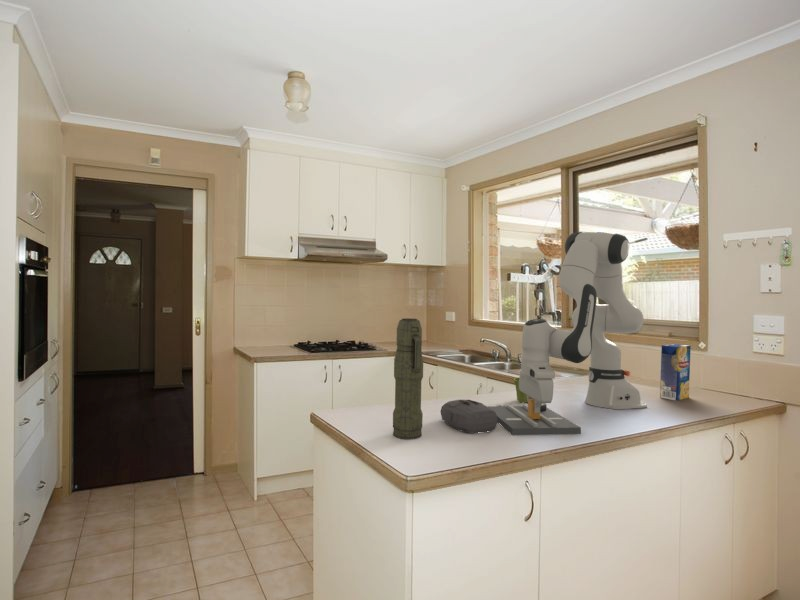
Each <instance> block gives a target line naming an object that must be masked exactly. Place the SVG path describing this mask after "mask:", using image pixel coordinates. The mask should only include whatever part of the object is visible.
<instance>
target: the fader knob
mask: <svg viewBox="0 0 800 600" xmlns="http://www.w3.org/2000/svg"><path fill="white" fill-rule="evenodd" d="M527 405H528V417H529V418H530V419H540V413H535V412H534V411H533V407H534V405H535V402H534V399H528V402H527Z"/></svg>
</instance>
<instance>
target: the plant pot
mask: <svg viewBox="0 0 800 600" xmlns="http://www.w3.org/2000/svg"><path fill="white" fill-rule="evenodd" d="M513 381H514V385H515V390H516V400H517V402H519V401H520V403H522V402H524V403H528V401H527V395H526V394H525V393H523V392H521V391H520V390H519V377H515V378H513Z"/></svg>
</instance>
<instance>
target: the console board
mask: <svg viewBox="0 0 800 600" xmlns="http://www.w3.org/2000/svg"><path fill="white" fill-rule="evenodd" d="M547 405H548V403H542V405H541V407H540V419H530V418H529V417H528V403H522V405H512V404H510V403H507V404H506V405H503V406H501V405H498V406H495V405H494V406H492V405H491V406H489V405H488V406H487V405H486V406H487V407H489V408H490V409H492V410H493V411H494V412H495V413H496V415H497V419H498V422H497V424H499V423H500V424H501V425H502V426H503V427H504V430H506V431H507V432H508V433H509V432H510V433H511V434H510V433H509V434H510V435H512V436H533V435H534V436H535V435H538V436H540V435H542V436H543V435H544V436H546V435H581V433H582V428H581V426H579V425H577V424H576V423H574V422H572V421H571V420H569V419H568V418H565V416H562V415H561V414H559V413H557V412H555V411H554V410H552V409H551V408H549V407H547ZM500 424H499V425H500ZM501 425H500V426H501ZM502 426H501V427H502ZM503 427H502V428H503Z"/></svg>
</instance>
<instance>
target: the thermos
mask: <svg viewBox="0 0 800 600" xmlns="http://www.w3.org/2000/svg"><path fill="white" fill-rule="evenodd" d="M422 330H423V327H422V324H421V322H420V320H419V319H418V318H405V317H404V318H401V319H399V321H398V324H397V327H396V352H395V357H394V359H393V377H394V380H395V382H394V383H395V387H394V388H395V389H394V391H395V392H394V410H393V412H392V429H393V430H392V436H393V437H394V438H397V439H400V440H416V439H419V438H421V437H422V433H423V432H422V429H423V411H422V381H423V378H424V358H423V354H422V353H423V352H422V345H423V344H422V343H423V339H422V336H423V331H422Z"/></svg>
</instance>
